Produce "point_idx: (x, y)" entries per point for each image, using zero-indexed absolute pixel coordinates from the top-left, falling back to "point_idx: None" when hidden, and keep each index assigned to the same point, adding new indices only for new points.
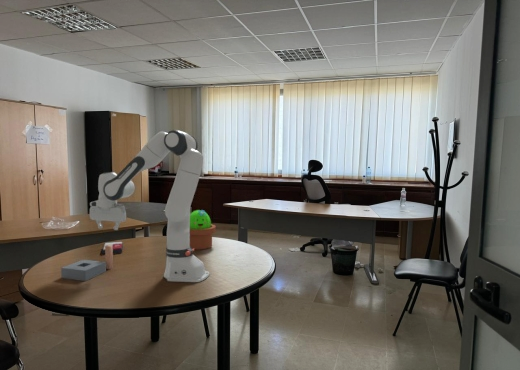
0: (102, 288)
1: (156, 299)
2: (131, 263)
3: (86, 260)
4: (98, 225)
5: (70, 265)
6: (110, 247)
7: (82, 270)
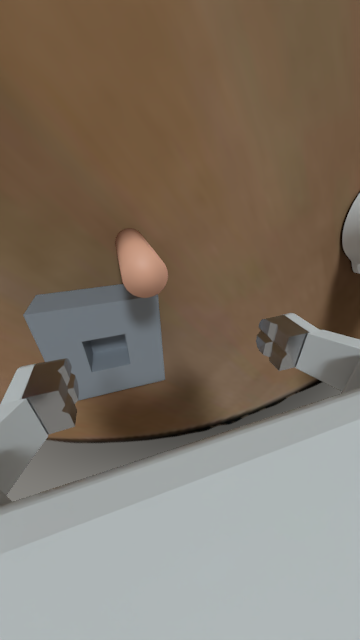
0: (229, 364)
1: None
2: (175, 134)
3: (55, 316)
4: (33, 437)
5: None
6: (164, 280)
7: (154, 381)
